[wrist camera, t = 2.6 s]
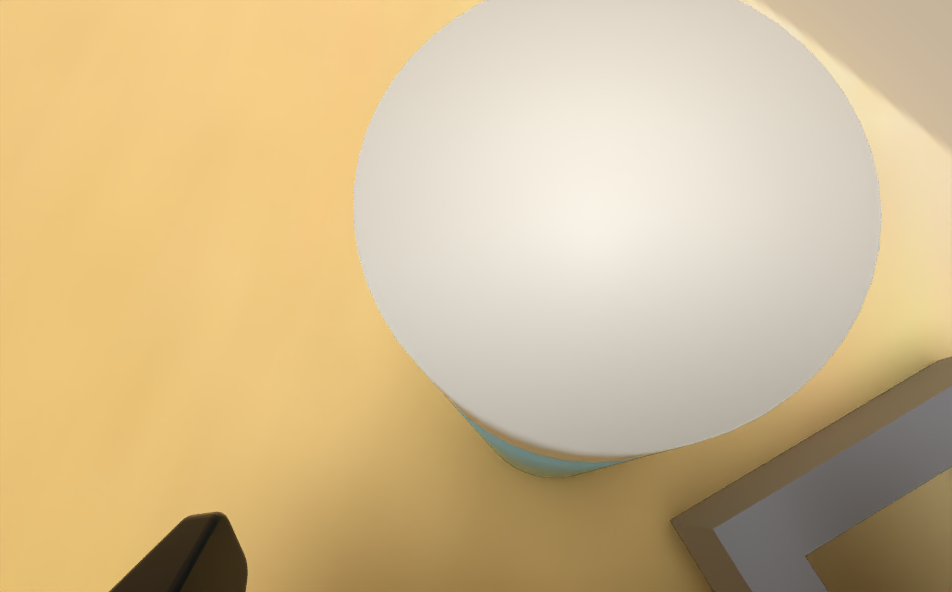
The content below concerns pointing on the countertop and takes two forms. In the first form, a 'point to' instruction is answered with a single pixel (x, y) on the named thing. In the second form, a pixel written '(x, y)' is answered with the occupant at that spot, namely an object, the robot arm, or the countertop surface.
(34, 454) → the countertop surface
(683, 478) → the countertop surface
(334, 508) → the countertop surface
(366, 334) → the countertop surface
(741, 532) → the socket
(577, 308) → the peg
